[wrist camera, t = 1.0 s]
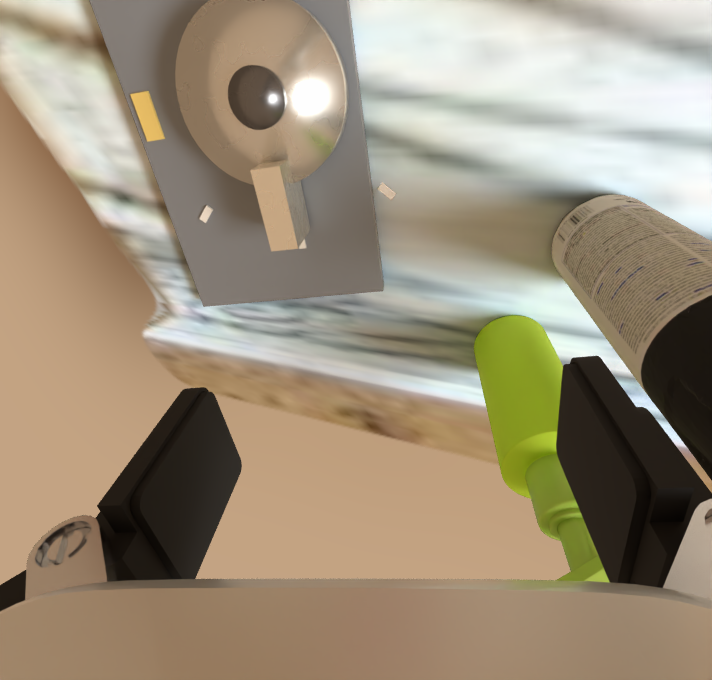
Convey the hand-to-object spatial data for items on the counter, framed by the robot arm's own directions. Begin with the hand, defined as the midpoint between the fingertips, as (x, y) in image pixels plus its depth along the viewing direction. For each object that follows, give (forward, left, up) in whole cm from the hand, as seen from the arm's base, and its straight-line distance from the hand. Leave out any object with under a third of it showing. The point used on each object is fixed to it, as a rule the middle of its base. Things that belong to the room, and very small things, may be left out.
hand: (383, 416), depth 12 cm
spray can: (+4, +14, -23) cm, 27 cm away
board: (-5, -9, -23) cm, 25 cm away
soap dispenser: (+13, +8, -23) cm, 27 cm away
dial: (-6, -7, -21) cm, 23 cm away
